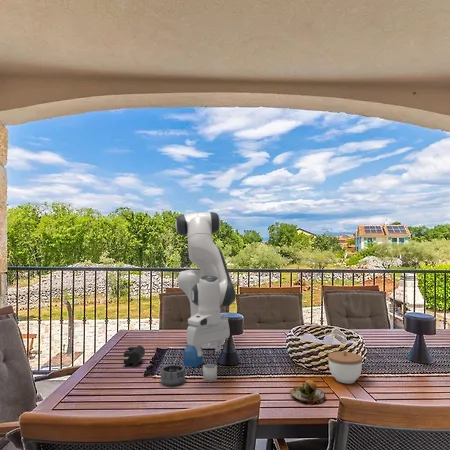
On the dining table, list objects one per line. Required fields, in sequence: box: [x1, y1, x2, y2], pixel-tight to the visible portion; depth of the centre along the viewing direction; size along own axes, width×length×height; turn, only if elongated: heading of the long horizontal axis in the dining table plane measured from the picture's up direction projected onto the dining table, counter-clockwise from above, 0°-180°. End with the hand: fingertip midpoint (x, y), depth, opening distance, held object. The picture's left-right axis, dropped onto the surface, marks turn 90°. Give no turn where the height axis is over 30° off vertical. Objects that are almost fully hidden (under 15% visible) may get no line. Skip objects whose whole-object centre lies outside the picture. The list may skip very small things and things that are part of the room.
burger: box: [289, 379, 326, 406], centre depth 128 cm, size 12×12×8 cm
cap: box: [202, 363, 218, 383], centre depth 145 cm, size 5×5×5 cm
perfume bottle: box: [183, 344, 204, 368], centre depth 163 cm, size 6×6×12 cm
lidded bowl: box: [327, 350, 363, 384], centre depth 144 cm, size 13×13×11 cm
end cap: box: [123, 345, 146, 368], centre depth 165 cm, size 10×7×7 cm
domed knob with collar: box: [160, 364, 186, 388], centre depth 142 cm, size 9×9×5 cm
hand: (209, 353), depth 145 cm, fingers open, 8 cm apart
